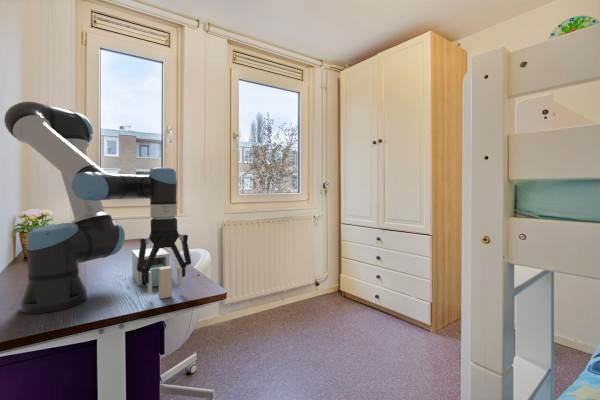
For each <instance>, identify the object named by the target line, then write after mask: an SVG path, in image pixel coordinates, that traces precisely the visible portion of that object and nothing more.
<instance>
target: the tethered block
mask: <svg viewBox="0 0 600 400" xmlns="http://www.w3.org/2000/svg"><path fill="white" fill-rule="evenodd" d="M172 270H173V268H172V267H171V265H169V266H164V265H163V264H158V265H151V268H150V270H149V271H151V272H152V288H154V287H158V296H159V298H160V299H167V298H171V297H173V273H172V272H173V271H172ZM144 284H145V285H146V287H147V288H148V283H145V282H144Z"/></svg>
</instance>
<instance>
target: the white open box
mask: <svg viewBox="0 0 600 400" xmlns="http://www.w3.org/2000/svg"><path fill="white" fill-rule="evenodd" d="M139 251H140V249H132V250H131V265H132V267H131V271H132V277H133V279H134V282H135V283H136V284H137V286H142V285H143V276H144V273H143V272H138V270H137V263H138V257H139ZM151 251H152V248H151V247H150V248H146V251H145V257H144V263H143V267H144V266H145V264H146V262H147V260H148V257H149V255H150V253H151ZM158 264H163V265H164V266H170V253H169V252H168V251H167V250H165V248H159V251H158V252H157V254H156V256H155V259H154V261H153V263H152V265H158Z"/></svg>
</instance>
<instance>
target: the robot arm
mask: <svg viewBox="0 0 600 400" xmlns="http://www.w3.org/2000/svg"><path fill="white" fill-rule="evenodd" d="M3 118H4V120H3V121H4V125H5V128H6V129H7V131H8V132H9V134H11V136H13V137H14V138H15V139H16V140H17V141H18V142H20V143H23V144H26V145H29V146H30V147H31V148H33V149H34V150H35V151H36V152H37V153H39V154H40V155H41V156H42V157H43V158H44V159H45V160H47V161H48V162H49V163H50V164H51V165H53V166H54V167H55V168H56V169H57V170H58V171H60V173H61V177H62V180H63V185H64V187H65V191H66V194H67V197H68V200H69V204H70V207H71V211H72V214H73V217H74V219H73V220H72V222H64V223H57V224H48V225H43V226H40V227H36V228H33V229H32V230H30V231H29V232H28V233H27V236H26V244H25V249H26V256H27V257H26V258H27V259H26V260H27V261H26V262H27V284H26V287H25V290H24V293H23V296H22V298H21V301H20V312H21V313H23V314H30V315H31V314H34V315H35V314H36V315H37V314H45V313H53V312H58V311H61V310H64V309H65V310H66V309H69V308H72V307H74V306H77V305H80V304H82V303H83V302H84V301H86V300H87V297H88V295H87V289H86V287H85V284H84V282H83V280H82V278H81V276H80V275H81V274H80V268H79V267H80V264H82V263H85V262H89V261H95V260H97V259H105V258H107V257H110V256H113V255H115V254H117V253H119V251H120V250H121V249H122V248H123V245H124V243H125V240H126V234H125V230H124V228H123V226H122V225H121V224H120V223H118V222H117V221H116V222H115V221H113V218H112V215H111V214H109V213H107V212H105V209H104V206H103V203H102V202H103V201H106V200H107V201H108V200H110V201H112V200H130V199H131V200H135V199H136V200H137V199H139V200H141V199H149V203H150V207H149V208H150V210H149V211H150V217H151V219H150V234H149V235H148V236H146V237H140V238H139V244H140V245H139V246H140V247H139V250H140V251H139V257H138V263H137V270H138V272H143V273H144V275H143V282H144V284H145V283H148V287H147V293H148V294H149V295H153V287H152V272H151V271H149V270H150V268H151V265H152V263H153V261H154V259H155V256H156V254H157V252H158V251H159V248H162V249H165V248H167V249H169V248H170V249H171V251H172V254H174V257H175V259H176V260H177V262H178V264H179V266H177V288H179V289H183V278H184V277H186V267H187V266H188V265H192V260H191V255H190V250H189V245H188V238H189V236H188V234H186V233H183V234H182V233H180V234H179V232H178V218H176V217H177V216H178V206H177V205H178V202H177V201H178V200H177V195H178V193H177V190H178V189H177V188H178V185H177V184H178V181H177V172H176V169H174V168H171V167H152V168H150V169H149V173H148V174H128V173H127V174H121V173H109V172H106V171H105V170H103V168H101V167H100V166H99V165H97V164H96V163H95V162H94V161H92V160H91V159H90V158H89V156H88V154H87V151H86V149H87V148H89V145H90V143H91V141H92V139H93V136H92V135H93V134H94V133H93V132H94V130H93V126H92V124H91V122H90V121H89V119H88V118H87V117H86V116H85V115H83V114H82V113H79V112H75V111H73V110H70V109H63V108H59V107H54V106H50V105H48V104H47V105H46V104H43V103H40V102H36V101H35V102H34V101H23V102H19V103H16V104H14V105H12V106H10V107H9V108H8V109H7V111H6V112H5V115H4V117H3ZM178 239H179V241H181V242H180V243H181V246H182V252H183V256H184V259H183V257H182V255H181V253H180V251H179V249H178V246H177V245H176V242H177V240H178ZM149 242H151V243H152V244H153V245H152V251H151V253H150V255H149V257H148V260H147V262H146V264H145V266H144V267H143V263H144V257H145V251H146V249H147V245H148V244H149Z"/></svg>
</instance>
